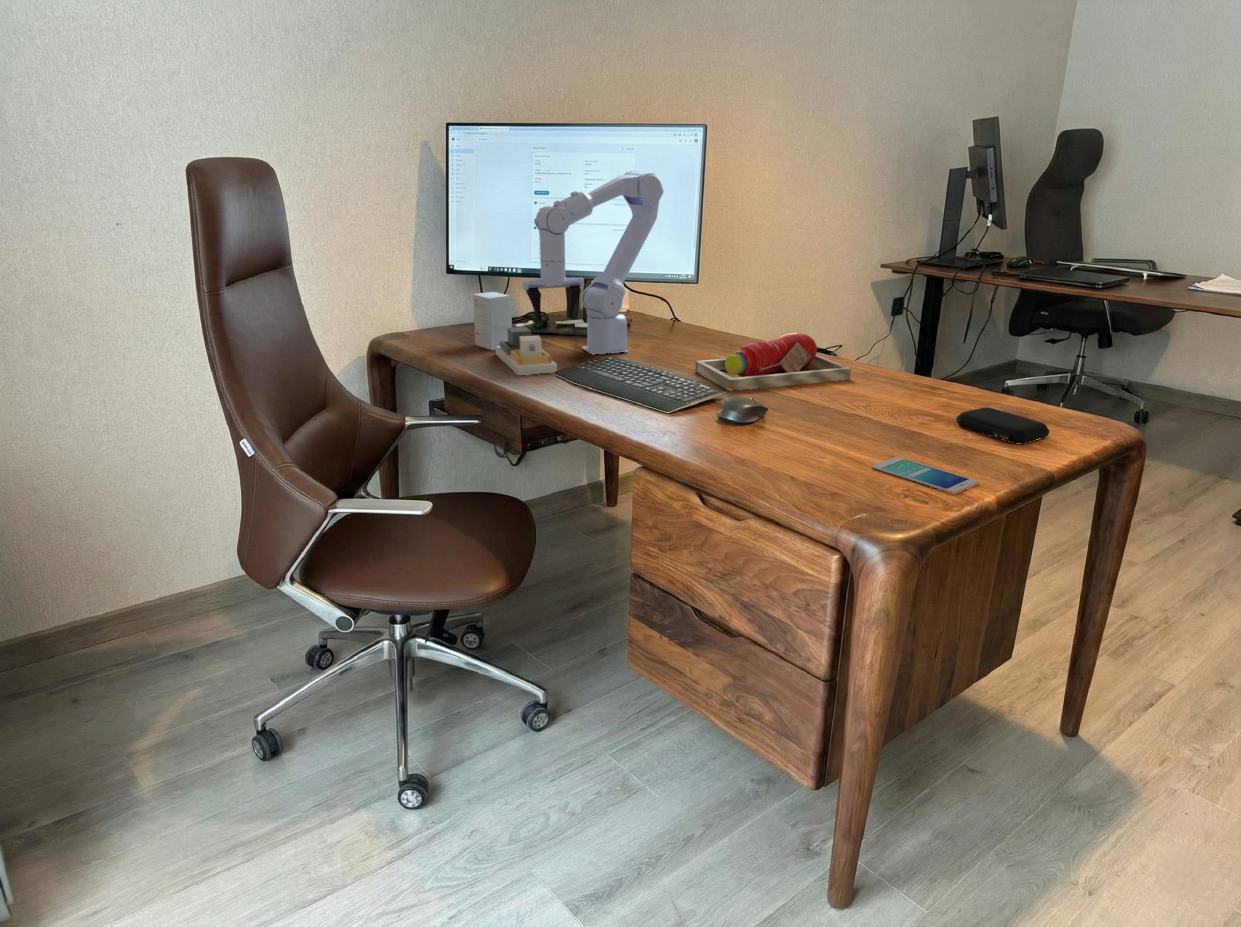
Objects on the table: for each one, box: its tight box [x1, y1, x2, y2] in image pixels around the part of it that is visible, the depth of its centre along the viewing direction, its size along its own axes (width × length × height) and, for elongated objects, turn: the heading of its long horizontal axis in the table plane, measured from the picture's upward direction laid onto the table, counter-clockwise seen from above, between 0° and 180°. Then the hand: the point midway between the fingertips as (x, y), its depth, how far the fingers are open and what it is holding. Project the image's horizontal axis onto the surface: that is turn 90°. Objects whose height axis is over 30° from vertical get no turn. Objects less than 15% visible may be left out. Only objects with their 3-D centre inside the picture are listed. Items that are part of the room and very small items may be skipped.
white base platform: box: [495, 341, 558, 375], centre depth 213 cm, size 9×22×4 cm, turn 20°
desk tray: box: [694, 353, 852, 391], centre depth 203 cm, size 29×17×2 cm, turn 110°
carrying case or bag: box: [955, 407, 1050, 444], centre depth 166 cm, size 11×3×15 cm
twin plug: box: [507, 326, 532, 348], centre depth 215 cm, size 4×7×5 cm
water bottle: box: [725, 333, 818, 377], centre depth 203 cm, size 12×8×25 cm
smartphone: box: [872, 456, 979, 493], centre depth 145 cm, size 8×1×15 cm
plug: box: [519, 335, 543, 358], centre depth 206 cm, size 4×7×5 cm
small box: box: [472, 291, 513, 351], centre depth 228 cm, size 8×6×13 cm
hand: (554, 318), depth 215 cm, fingers open, 7 cm apart
